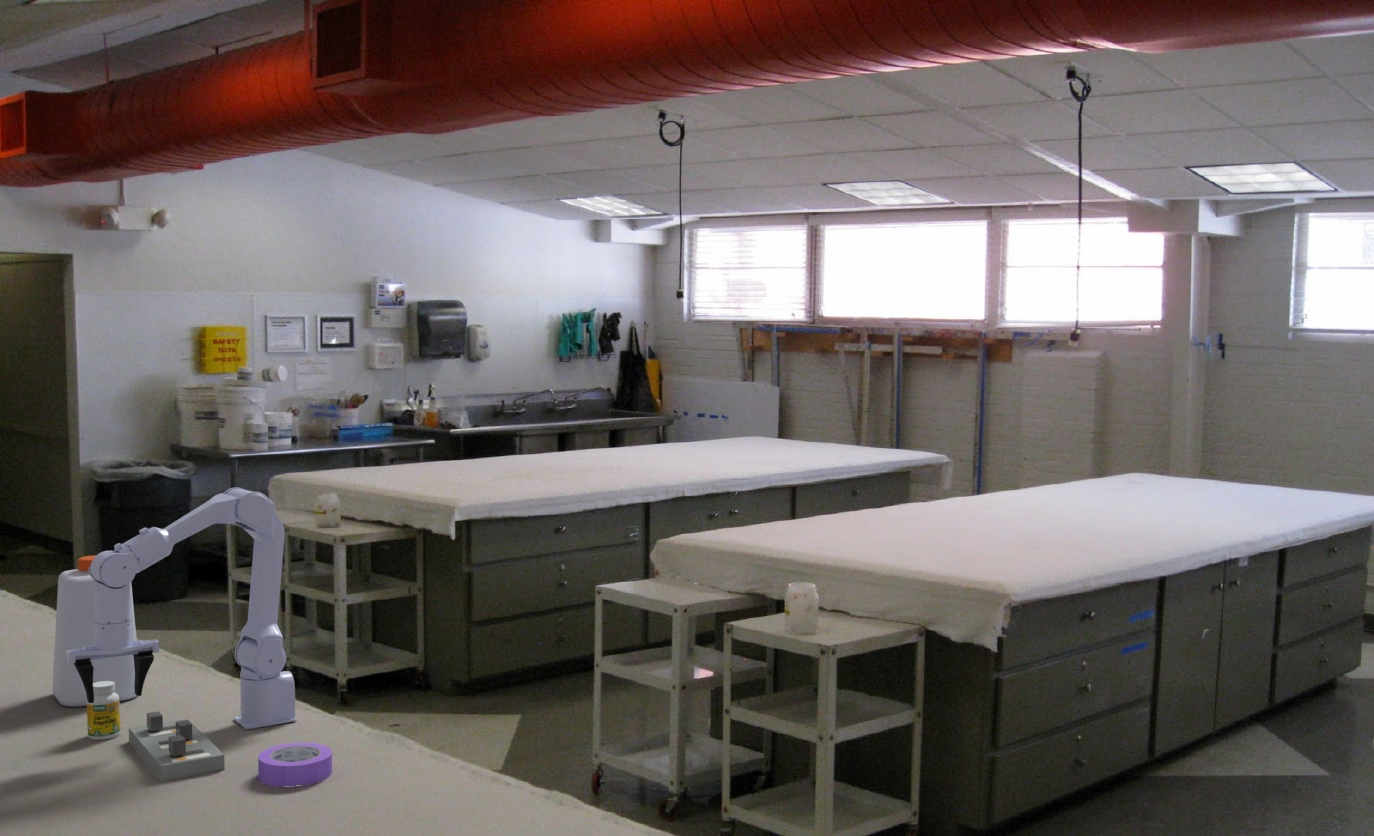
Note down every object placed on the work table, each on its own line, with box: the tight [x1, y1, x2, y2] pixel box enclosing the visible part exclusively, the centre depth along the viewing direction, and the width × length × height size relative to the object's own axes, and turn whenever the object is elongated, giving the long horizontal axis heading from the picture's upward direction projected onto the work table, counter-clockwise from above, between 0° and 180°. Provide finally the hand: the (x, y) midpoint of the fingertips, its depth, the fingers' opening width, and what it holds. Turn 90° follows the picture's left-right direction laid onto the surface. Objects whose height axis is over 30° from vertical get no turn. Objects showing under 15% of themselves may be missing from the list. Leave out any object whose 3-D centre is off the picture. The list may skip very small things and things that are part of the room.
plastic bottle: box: [52, 554, 138, 708], centre depth 253 cm, size 15×15×28 cm
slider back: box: [146, 710, 164, 731], centre depth 224 cm, size 2×3×2 cm, turn 35°
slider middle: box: [176, 719, 193, 739], centre depth 220 cm, size 2×3×2 cm, turn 35°
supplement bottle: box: [86, 681, 121, 741], centre depth 229 cm, size 5×5×10 cm
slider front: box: [169, 735, 186, 756], centre depth 211 cm, size 2×3×2 cm, turn 35°
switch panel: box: [128, 718, 226, 782], centre depth 219 cm, size 10×24×3 cm, turn 35°
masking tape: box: [257, 742, 333, 788], centre depth 210 cm, size 12×12×4 cm
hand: (114, 697), depth 220 cm, fingers open, 7 cm apart
